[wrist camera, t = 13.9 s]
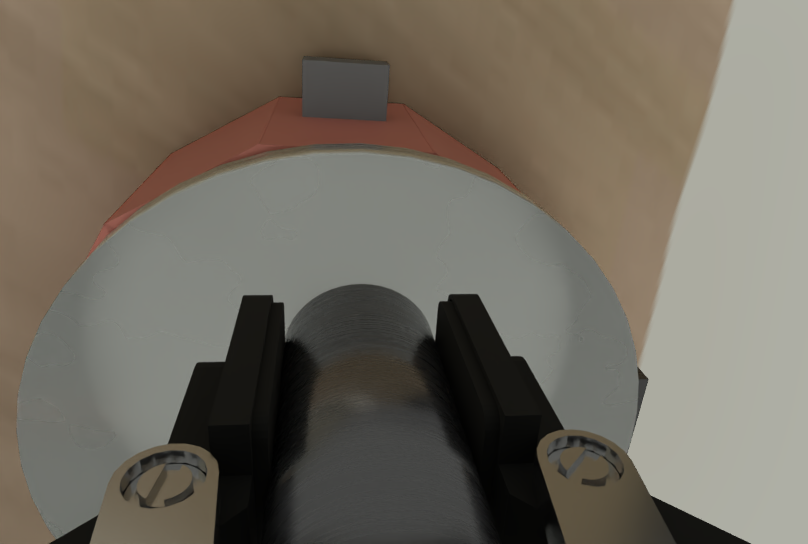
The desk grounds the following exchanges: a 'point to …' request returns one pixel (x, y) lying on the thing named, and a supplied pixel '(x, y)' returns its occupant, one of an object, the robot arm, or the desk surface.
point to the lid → (304, 298)
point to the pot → (308, 129)
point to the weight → (370, 431)
